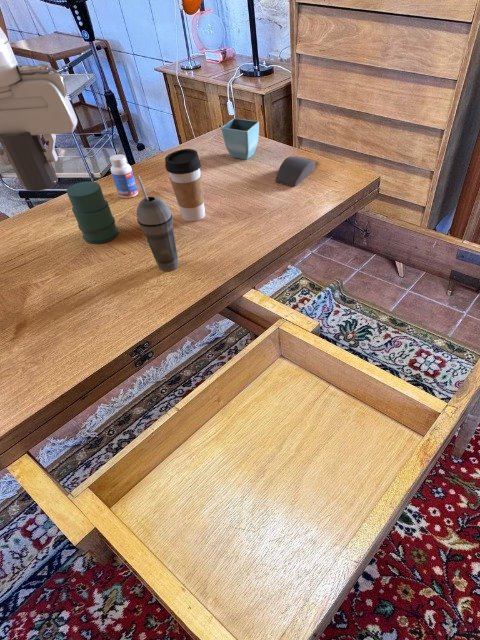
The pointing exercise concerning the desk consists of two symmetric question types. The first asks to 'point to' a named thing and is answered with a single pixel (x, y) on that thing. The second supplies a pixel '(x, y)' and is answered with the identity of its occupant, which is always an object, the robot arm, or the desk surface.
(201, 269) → the desk surface
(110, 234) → the cup stack
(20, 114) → the robot arm
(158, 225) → the beverage cup
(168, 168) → the coffee cup
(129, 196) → the pill bottle
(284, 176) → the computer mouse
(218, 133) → the desk surface
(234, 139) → the flower pot
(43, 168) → the charcoal cup
